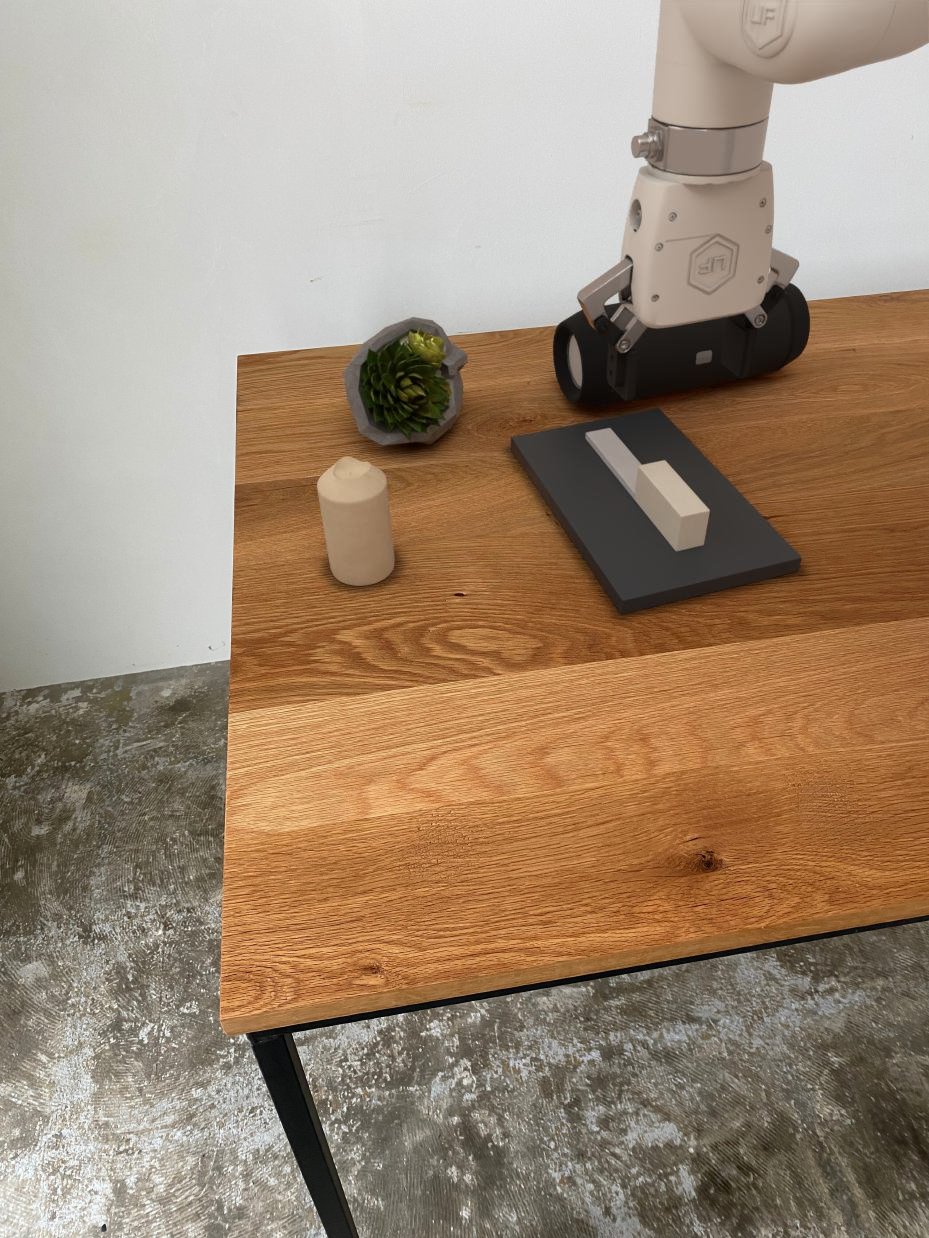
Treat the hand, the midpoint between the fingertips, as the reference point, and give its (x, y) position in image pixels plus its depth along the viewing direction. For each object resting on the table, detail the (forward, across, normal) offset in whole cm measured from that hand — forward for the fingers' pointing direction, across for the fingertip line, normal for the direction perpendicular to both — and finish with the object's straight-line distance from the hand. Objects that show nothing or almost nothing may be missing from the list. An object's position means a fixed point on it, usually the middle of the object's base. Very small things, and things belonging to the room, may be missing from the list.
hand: (678, 381), depth 73 cm
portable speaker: (+14, +13, +22) cm, 29 cm away
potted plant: (+14, -16, +22) cm, 31 cm away
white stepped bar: (+12, 0, +4) cm, 13 cm away
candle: (+14, -26, +3) cm, 30 cm away
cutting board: (+14, 0, +4) cm, 14 cm away
